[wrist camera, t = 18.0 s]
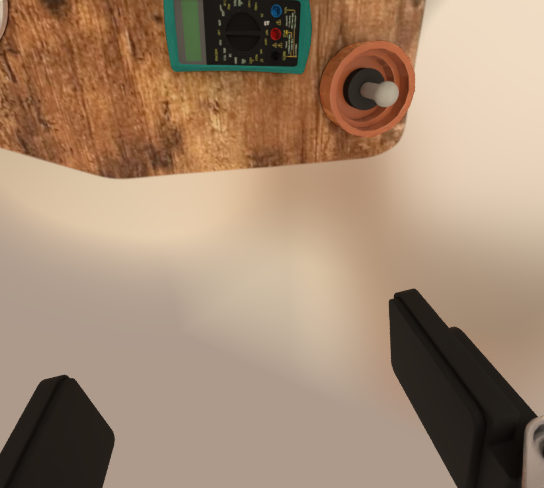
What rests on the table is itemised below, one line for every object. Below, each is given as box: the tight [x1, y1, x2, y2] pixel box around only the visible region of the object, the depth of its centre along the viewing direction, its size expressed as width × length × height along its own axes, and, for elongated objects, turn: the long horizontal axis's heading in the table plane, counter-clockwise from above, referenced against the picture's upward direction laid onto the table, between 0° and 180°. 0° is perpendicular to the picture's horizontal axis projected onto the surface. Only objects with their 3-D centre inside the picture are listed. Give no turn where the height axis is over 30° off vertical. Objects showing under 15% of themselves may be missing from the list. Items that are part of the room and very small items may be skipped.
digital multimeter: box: [164, 0, 312, 74], centre depth 36 cm, size 7×15×3 cm, turn 89°
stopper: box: [343, 68, 399, 110], centre depth 37 cm, size 4×4×8 cm
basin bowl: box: [319, 41, 415, 137], centre depth 39 cm, size 9×10×5 cm
